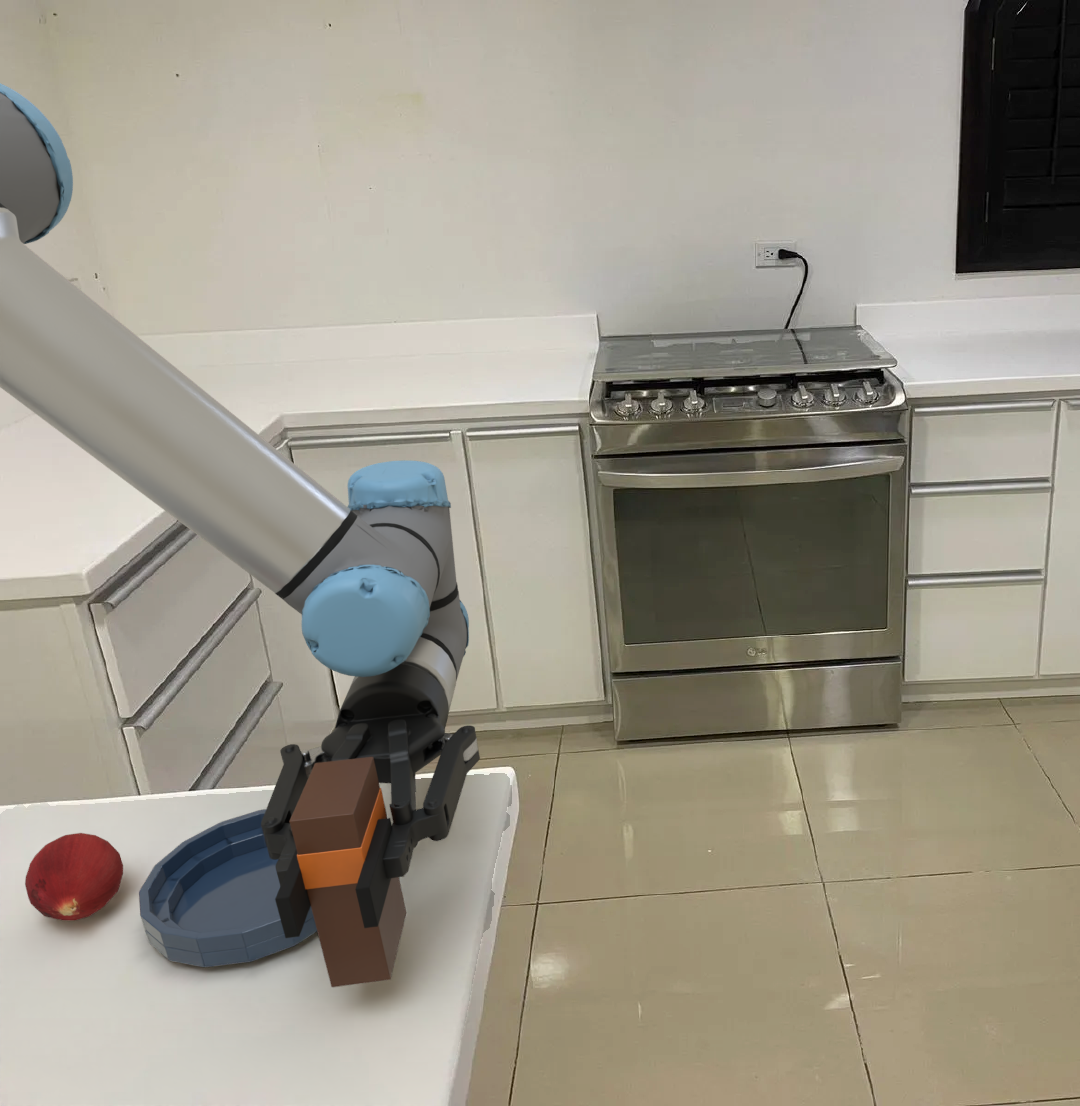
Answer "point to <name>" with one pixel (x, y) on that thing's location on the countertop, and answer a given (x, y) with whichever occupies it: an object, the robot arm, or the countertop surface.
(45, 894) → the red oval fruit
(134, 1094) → the countertop surface
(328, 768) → the snack carton
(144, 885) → the bowl
